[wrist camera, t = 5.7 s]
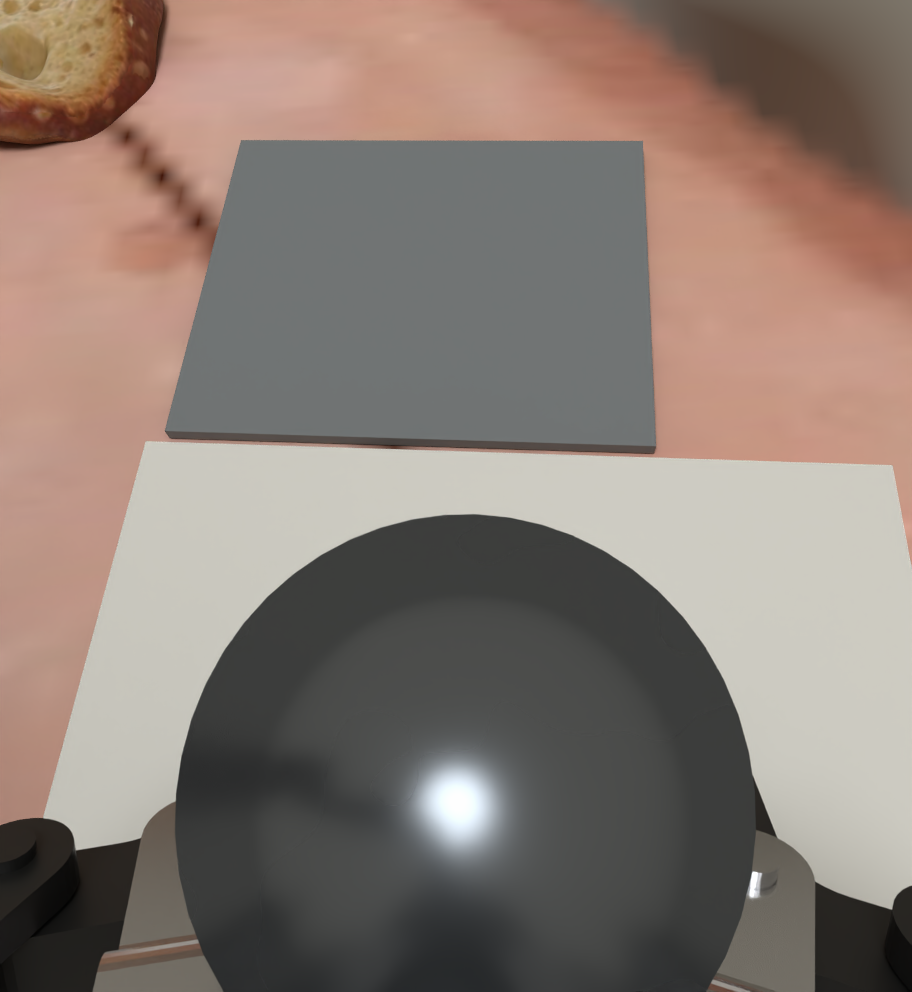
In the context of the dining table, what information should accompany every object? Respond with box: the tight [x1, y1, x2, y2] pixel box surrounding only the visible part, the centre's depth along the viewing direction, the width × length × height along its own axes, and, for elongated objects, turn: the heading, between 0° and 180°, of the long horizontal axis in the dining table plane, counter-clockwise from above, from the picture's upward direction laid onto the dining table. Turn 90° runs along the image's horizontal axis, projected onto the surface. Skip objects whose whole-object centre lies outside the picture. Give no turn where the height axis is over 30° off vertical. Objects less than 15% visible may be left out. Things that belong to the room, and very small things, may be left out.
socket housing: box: [43, 441, 912, 910], centre depth 17 cm, size 16×16×5 cm
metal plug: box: [175, 514, 756, 992], centre depth 13 cm, size 4×4×14 cm
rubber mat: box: [165, 140, 656, 453], centre depth 27 cm, size 14×12×1 cm
